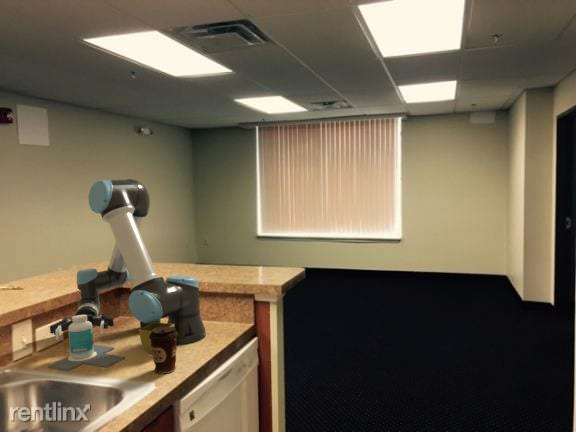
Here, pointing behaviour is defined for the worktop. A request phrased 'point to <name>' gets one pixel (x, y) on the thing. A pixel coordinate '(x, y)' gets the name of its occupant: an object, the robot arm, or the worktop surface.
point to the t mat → (89, 359)
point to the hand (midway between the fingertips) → (79, 332)
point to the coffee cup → (164, 348)
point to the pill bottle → (80, 337)
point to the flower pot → (147, 331)
